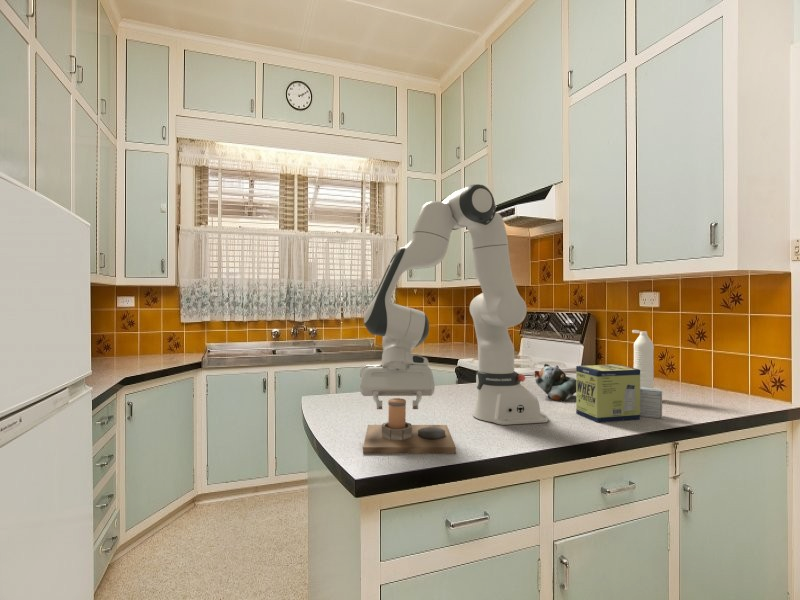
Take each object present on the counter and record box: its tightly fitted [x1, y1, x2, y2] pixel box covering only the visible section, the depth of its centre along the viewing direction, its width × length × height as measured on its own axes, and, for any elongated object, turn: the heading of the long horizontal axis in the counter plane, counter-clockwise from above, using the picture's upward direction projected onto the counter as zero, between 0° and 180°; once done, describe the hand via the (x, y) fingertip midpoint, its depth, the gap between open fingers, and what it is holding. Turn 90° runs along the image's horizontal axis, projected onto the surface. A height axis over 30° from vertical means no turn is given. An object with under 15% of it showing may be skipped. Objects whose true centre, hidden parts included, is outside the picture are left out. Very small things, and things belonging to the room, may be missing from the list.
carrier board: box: [362, 421, 457, 455], centre depth 111 cm, size 22×18×4 cm
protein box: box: [575, 363, 641, 424], centre depth 134 cm, size 10×16×16 cm
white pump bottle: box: [631, 329, 655, 388], centre depth 160 cm, size 9×6×25 cm
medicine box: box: [640, 387, 663, 419], centre depth 135 cm, size 8×4×9 cm, turn 65°
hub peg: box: [387, 397, 407, 429], centre depth 111 cm, size 4×4×9 cm
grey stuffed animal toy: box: [534, 363, 576, 402], centre depth 161 cm, size 15×12×14 cm
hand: (397, 408), depth 112 cm, fingers open, 8 cm apart
